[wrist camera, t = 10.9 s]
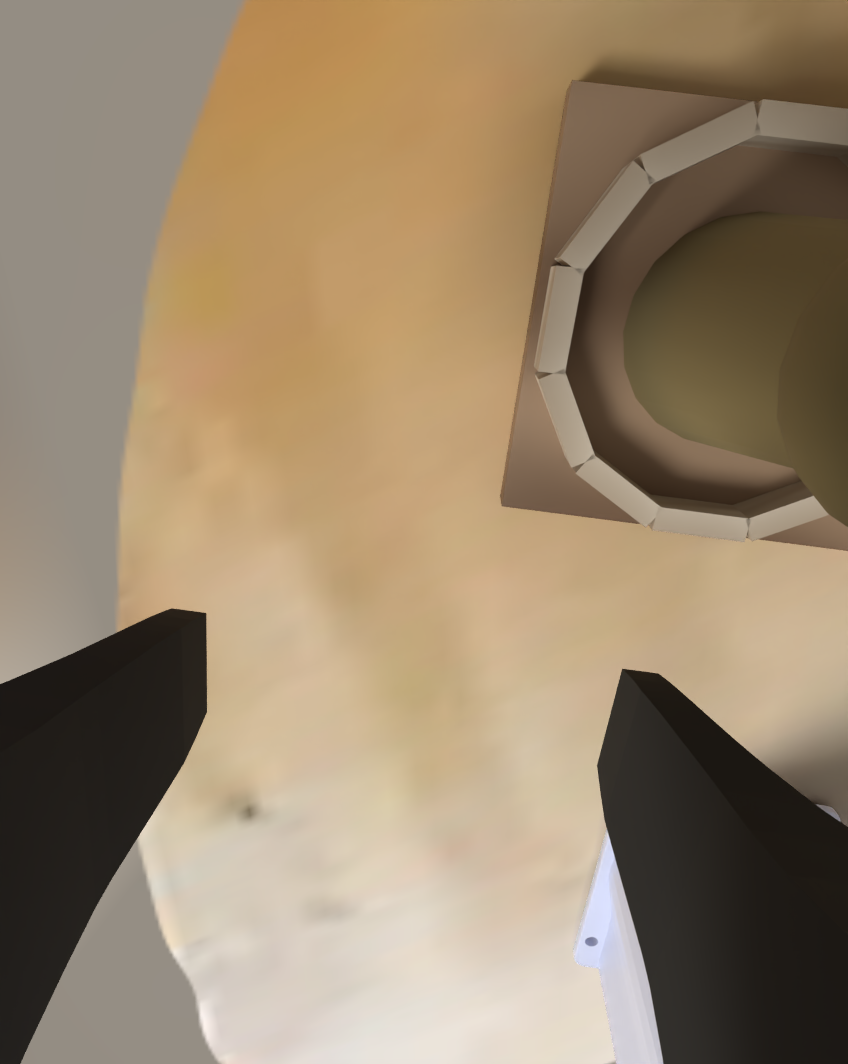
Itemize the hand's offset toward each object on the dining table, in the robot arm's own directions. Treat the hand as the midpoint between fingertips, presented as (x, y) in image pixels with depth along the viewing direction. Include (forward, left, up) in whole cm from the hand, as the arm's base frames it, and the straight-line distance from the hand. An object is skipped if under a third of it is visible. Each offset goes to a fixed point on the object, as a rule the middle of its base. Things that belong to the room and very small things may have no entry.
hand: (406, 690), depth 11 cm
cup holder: (+6, -8, -10) cm, 14 cm away
